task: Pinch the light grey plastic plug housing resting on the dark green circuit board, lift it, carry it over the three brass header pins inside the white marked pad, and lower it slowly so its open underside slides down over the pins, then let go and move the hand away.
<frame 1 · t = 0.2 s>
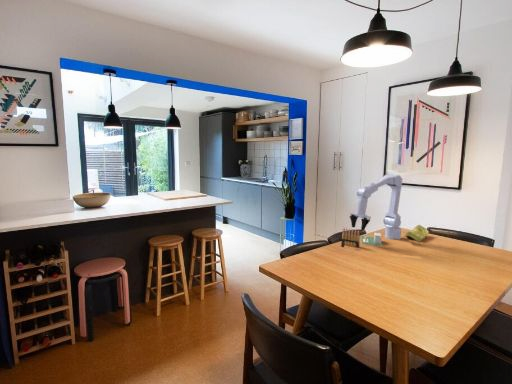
hand: (357, 228, 182), 10 cm above the table, tool pointing down, fingers open, 7 cm apart
plug housing: (377, 241, 185), point 1 cm above the table, touching header board
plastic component: (416, 238, 201), on the table
ammunition clip: (350, 248, 177), on the table
header board: (371, 243, 187), on the table
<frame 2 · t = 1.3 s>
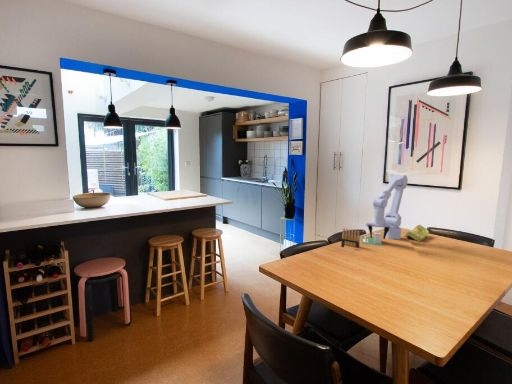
hand: (377, 238, 185), 4 cm above the table, tool pointing down, fingers open, 7 cm apart
nothing on the table moved.
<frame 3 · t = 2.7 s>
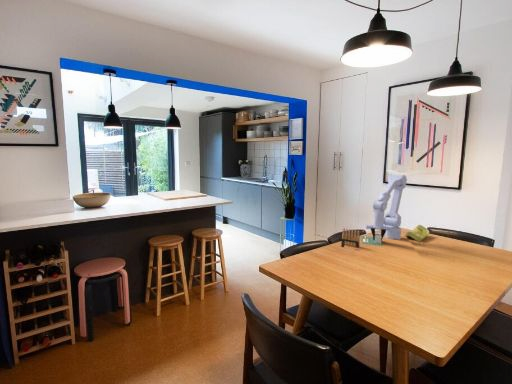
hand: (377, 240, 185), 2 cm above the table, tool pointing down, fingers closed on plug housing, 4 cm apart
plug housing: (377, 241, 185), point 2 cm above the table, touching gripper, header board
everything else where it was.
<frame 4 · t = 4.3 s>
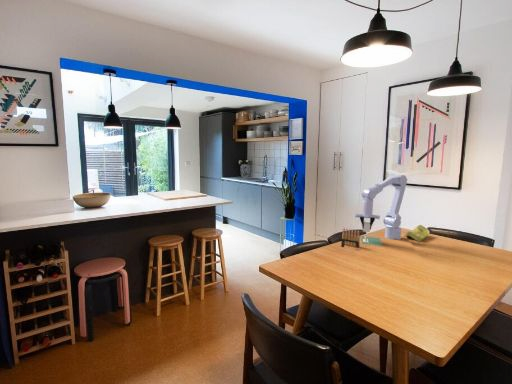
hand: (366, 228, 186), 9 cm above the table, tool pointing down, fingers closed on plug housing, 4 cm apart
plug housing: (366, 230, 186), point 8 cm above the table, touching gripper
everything else where it was.
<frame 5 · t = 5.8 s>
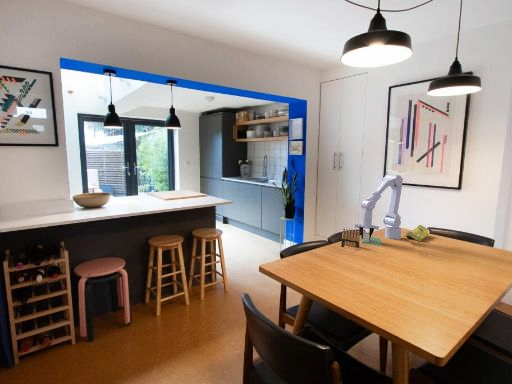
hand: (365, 239, 187), 2 cm above the table, tool pointing down, fingers closed on plug housing, 4 cm apart
plug housing: (365, 240, 187), point 2 cm above the table, touching gripper, header board
everything else where it was.
when the fingers open (2 cm above the table, at t = 6.4 s): plug housing stays where it is, resting on header board.
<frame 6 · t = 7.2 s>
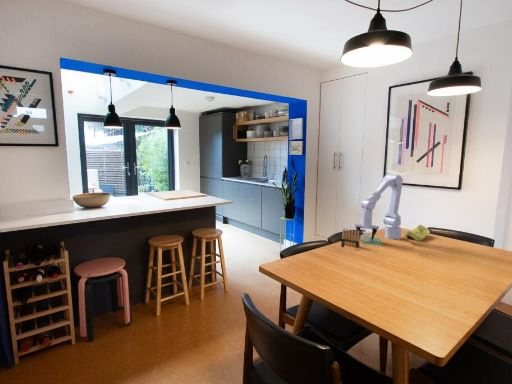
hand: (365, 239, 187), 2 cm above the table, tool pointing down, fingers open, 7 cm apart
plug housing: (365, 240, 187), point 2 cm above the table, touching header board
everything else where it was.
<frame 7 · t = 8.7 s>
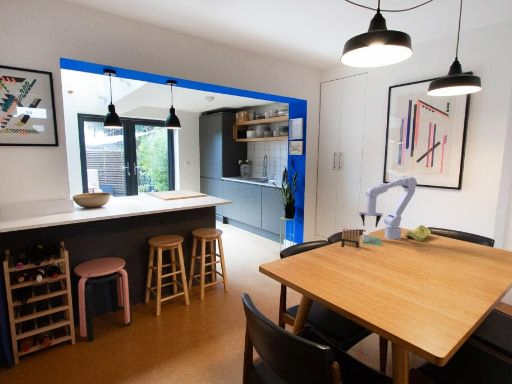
hand: (369, 226, 193), 9 cm above the table, tool pointing down, fingers open, 7 cm apart
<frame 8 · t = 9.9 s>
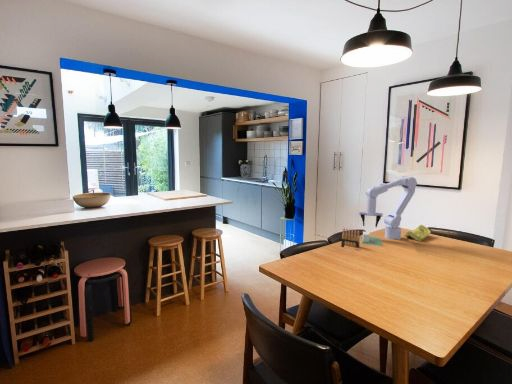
hand: (369, 226, 193), 9 cm above the table, tool pointing down, fingers open, 7 cm apart
at the end: plug housing 0.1 cm from the target spot on the header board, point 1.6 cm above the header board's base; plug housing tilted 0°; the gripper is holding nothing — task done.
